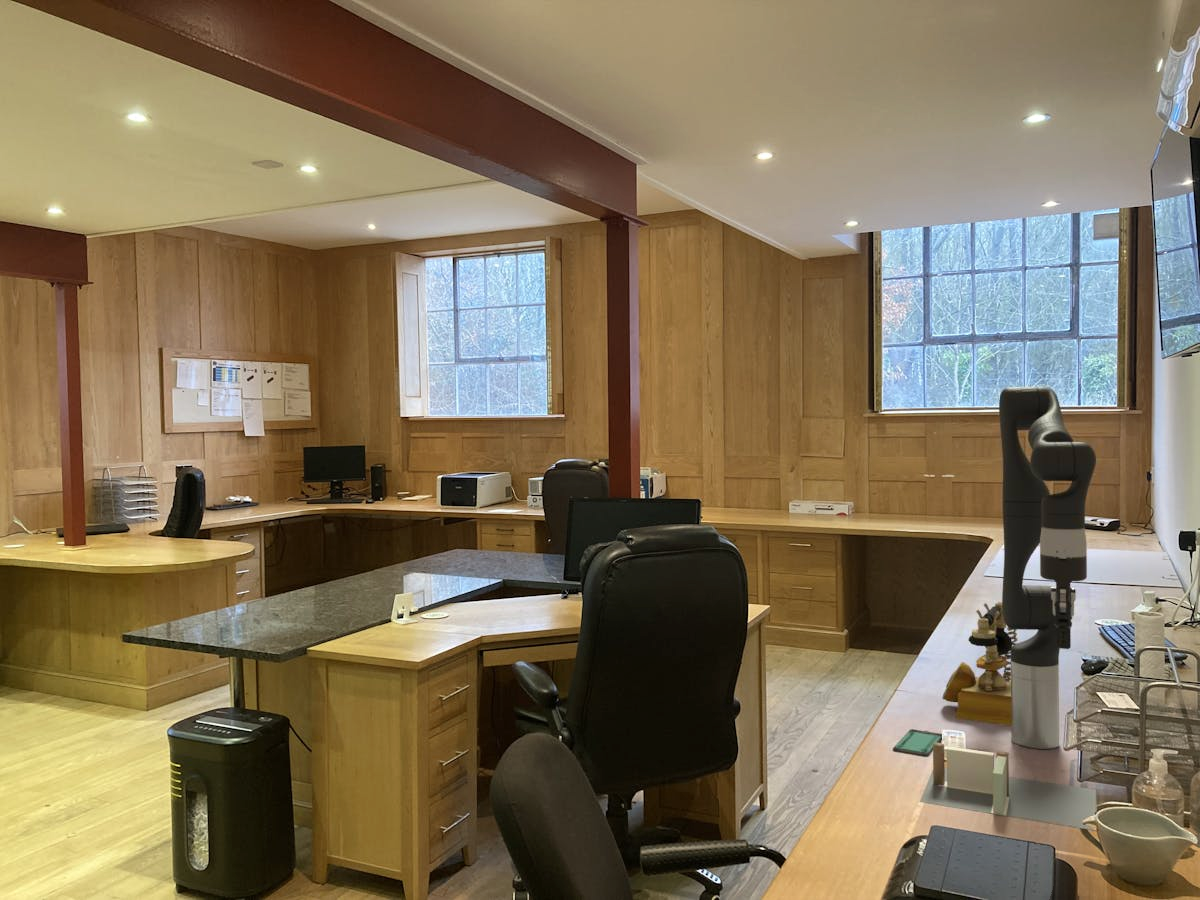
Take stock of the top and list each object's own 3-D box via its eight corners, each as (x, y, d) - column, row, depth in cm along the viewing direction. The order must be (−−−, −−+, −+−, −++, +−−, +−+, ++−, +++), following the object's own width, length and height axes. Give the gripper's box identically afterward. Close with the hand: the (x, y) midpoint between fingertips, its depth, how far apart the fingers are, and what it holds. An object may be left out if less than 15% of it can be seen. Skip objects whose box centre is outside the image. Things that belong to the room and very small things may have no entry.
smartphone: (944, 733, 198) (927, 754, 185) (944, 739, 198) (927, 760, 185) (909, 727, 202) (890, 748, 189) (909, 733, 202) (891, 754, 189)
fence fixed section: (934, 780, 173) (933, 742, 173) (1009, 792, 167) (1008, 752, 167) (932, 784, 171) (932, 745, 171) (1008, 796, 165) (1008, 755, 165)
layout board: (934, 767, 180) (934, 765, 180) (1095, 791, 167) (1095, 788, 167) (919, 803, 164) (919, 800, 164) (1097, 833, 151) (1097, 830, 151)
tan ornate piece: (962, 683, 238) (961, 588, 237) (1037, 693, 228) (1036, 593, 228) (929, 721, 208) (928, 612, 208) (1013, 734, 199) (1012, 620, 198)
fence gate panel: (997, 793, 165) (997, 755, 165) (1006, 795, 165) (1006, 757, 165) (993, 812, 157) (992, 772, 157) (1002, 814, 157) (1002, 774, 157)
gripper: (1041, 547, 173) (1042, 638, 173) (1038, 556, 161) (1039, 654, 161) (1086, 548, 169) (1086, 641, 170) (1086, 558, 158) (1087, 658, 158)
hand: (1063, 647), depth 166 cm, fingers closed
